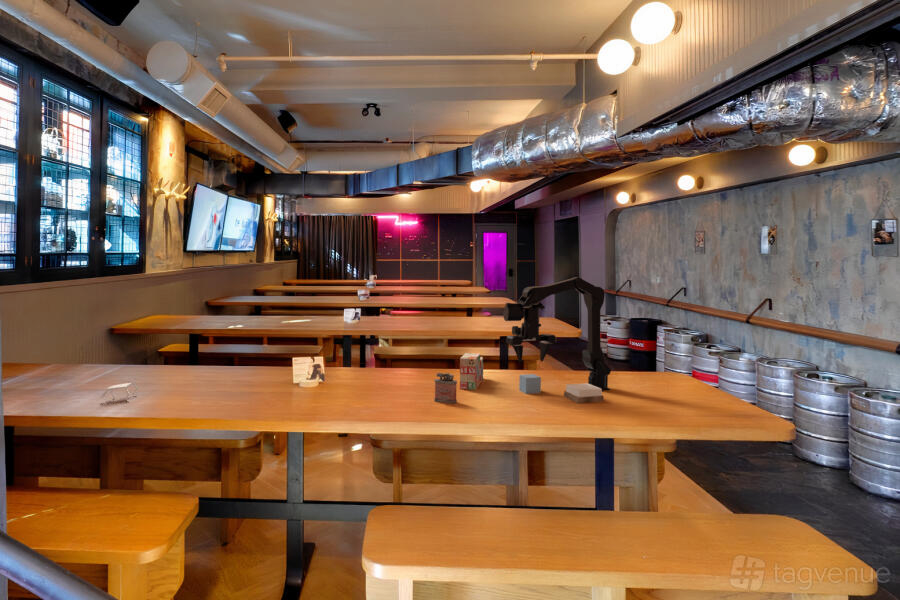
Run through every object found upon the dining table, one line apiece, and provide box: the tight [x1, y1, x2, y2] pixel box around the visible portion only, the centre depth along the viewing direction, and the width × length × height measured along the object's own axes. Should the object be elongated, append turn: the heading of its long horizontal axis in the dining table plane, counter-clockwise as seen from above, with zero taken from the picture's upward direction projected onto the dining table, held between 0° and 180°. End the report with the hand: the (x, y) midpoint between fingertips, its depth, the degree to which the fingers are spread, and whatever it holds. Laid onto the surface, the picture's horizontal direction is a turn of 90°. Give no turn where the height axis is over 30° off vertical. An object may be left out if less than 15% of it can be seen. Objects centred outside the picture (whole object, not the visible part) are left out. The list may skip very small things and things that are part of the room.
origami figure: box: [100, 382, 140, 403], centre depth 185 cm, size 12×8×5 cm
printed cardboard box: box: [459, 352, 484, 391], centre depth 215 cm, size 21×6×12 cm, turn 169°
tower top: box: [565, 383, 603, 397], centre depth 192 cm, size 9×9×2 cm
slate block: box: [518, 373, 542, 395], centre depth 202 cm, size 6×6×6 cm
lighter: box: [433, 372, 458, 404], centre depth 186 cm, size 8×3×10 cm, turn 71°
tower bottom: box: [563, 390, 605, 404], centre depth 192 cm, size 10×10×2 cm
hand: (530, 362), depth 201 cm, fingers open, 9 cm apart
